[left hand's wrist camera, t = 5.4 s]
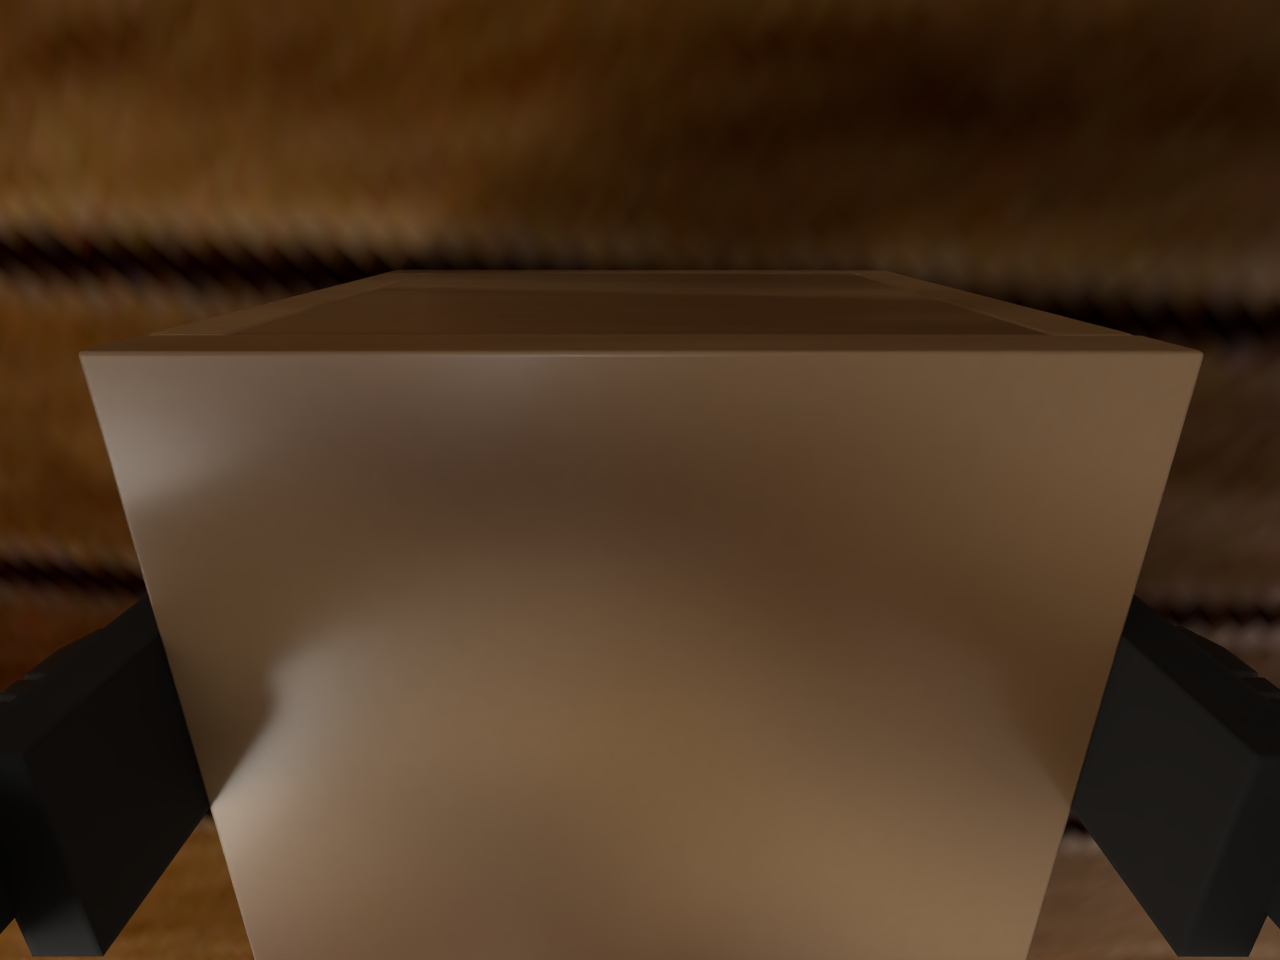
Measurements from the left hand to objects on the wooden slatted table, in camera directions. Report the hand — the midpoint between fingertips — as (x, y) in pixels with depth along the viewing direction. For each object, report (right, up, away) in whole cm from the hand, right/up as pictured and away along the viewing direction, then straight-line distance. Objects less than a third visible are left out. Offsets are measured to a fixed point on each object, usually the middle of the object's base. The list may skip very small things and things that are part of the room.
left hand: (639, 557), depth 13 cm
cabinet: (0, -3, +7) cm, 8 cm away
